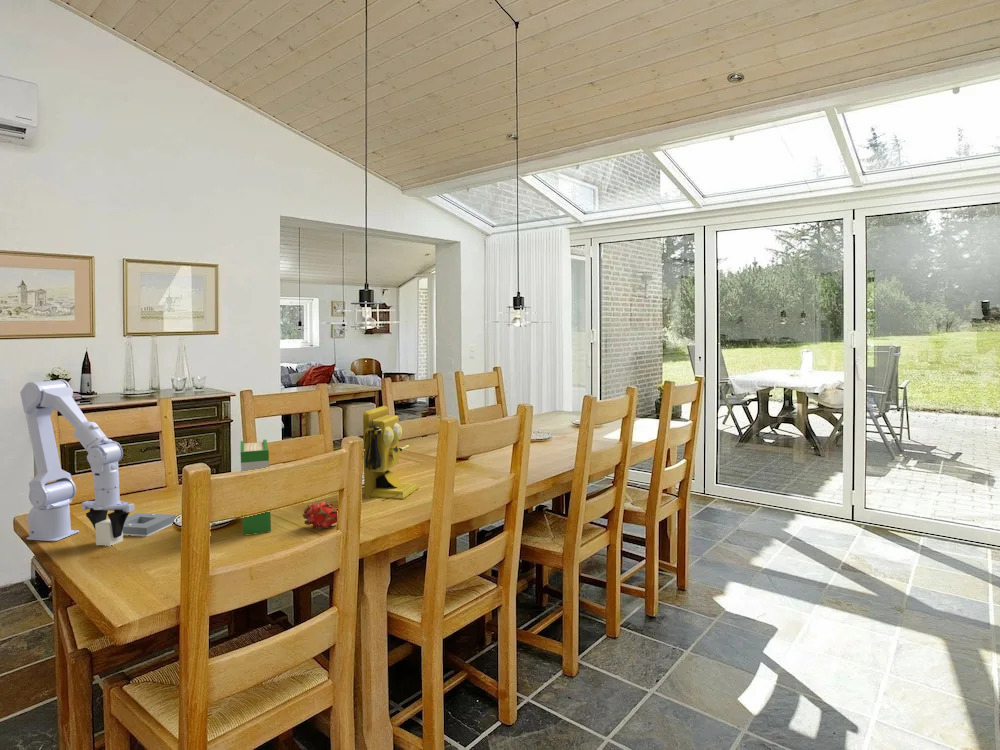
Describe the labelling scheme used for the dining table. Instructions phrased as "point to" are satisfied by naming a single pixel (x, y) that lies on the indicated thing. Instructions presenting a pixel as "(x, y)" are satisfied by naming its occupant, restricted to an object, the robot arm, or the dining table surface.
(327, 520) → the dragon fruit
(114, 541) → the block
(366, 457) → the vintage telephone
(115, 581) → the dining table surface
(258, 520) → the hardback book
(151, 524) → the outlet box
